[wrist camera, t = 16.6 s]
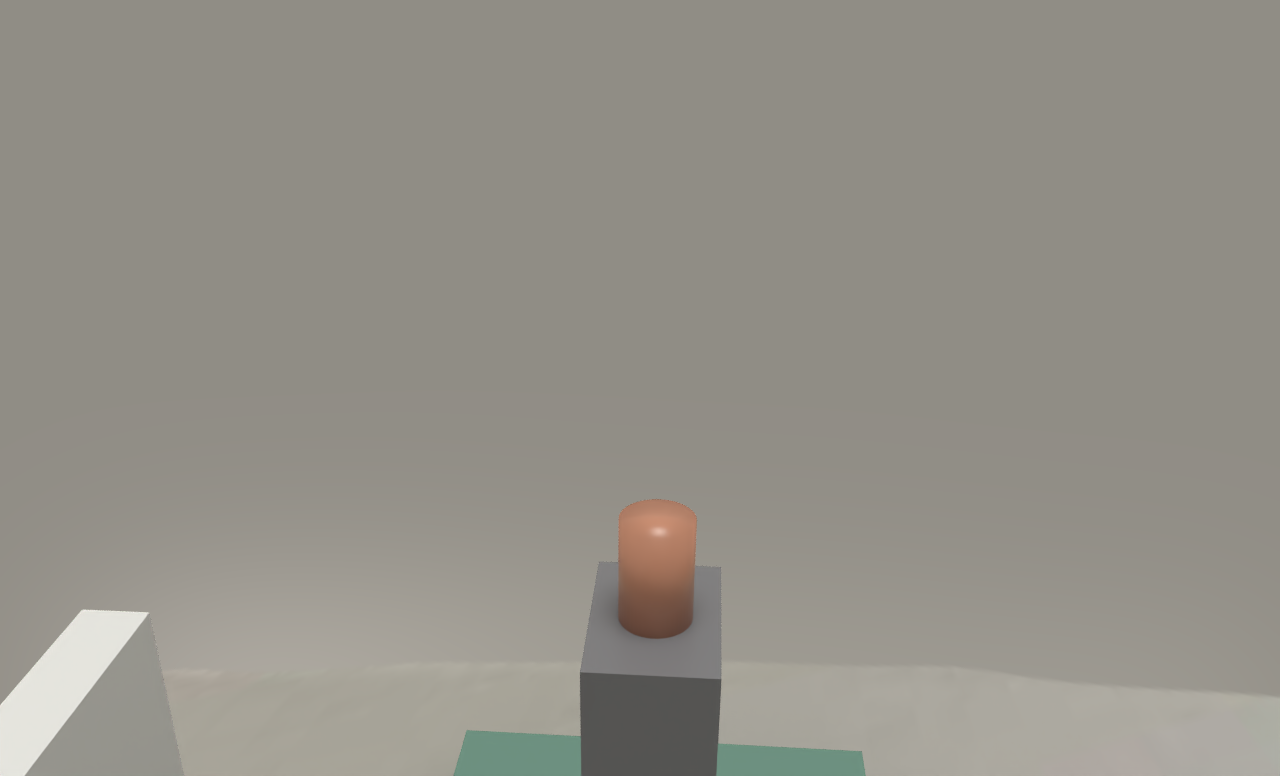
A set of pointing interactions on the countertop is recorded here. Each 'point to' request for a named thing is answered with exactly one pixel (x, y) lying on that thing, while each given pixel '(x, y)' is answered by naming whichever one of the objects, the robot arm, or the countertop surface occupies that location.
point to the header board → (551, 764)
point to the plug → (652, 652)
